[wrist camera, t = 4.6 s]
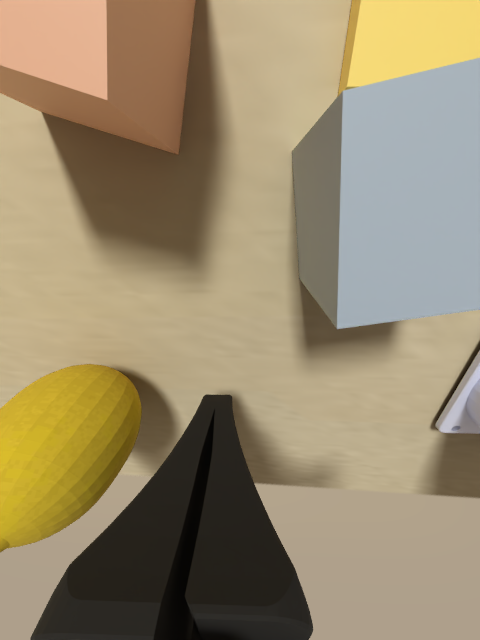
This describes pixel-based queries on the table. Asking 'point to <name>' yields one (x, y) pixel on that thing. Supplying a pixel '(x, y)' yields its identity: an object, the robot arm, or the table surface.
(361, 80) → the tile
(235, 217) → the table surface
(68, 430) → the lemon
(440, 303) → the slate block
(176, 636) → the robot arm
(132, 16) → the terracotta block
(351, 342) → the table surface
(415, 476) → the table surface
